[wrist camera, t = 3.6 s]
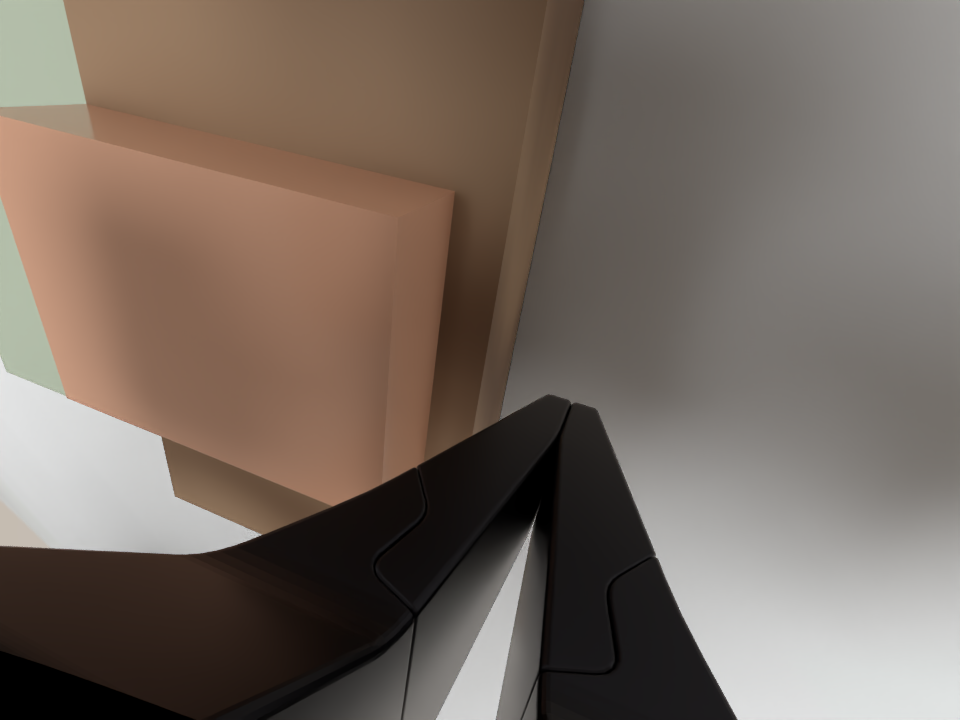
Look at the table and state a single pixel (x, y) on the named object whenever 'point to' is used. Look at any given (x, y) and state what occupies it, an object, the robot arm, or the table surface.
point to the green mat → (3, 282)
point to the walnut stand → (364, 152)
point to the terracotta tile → (232, 292)
